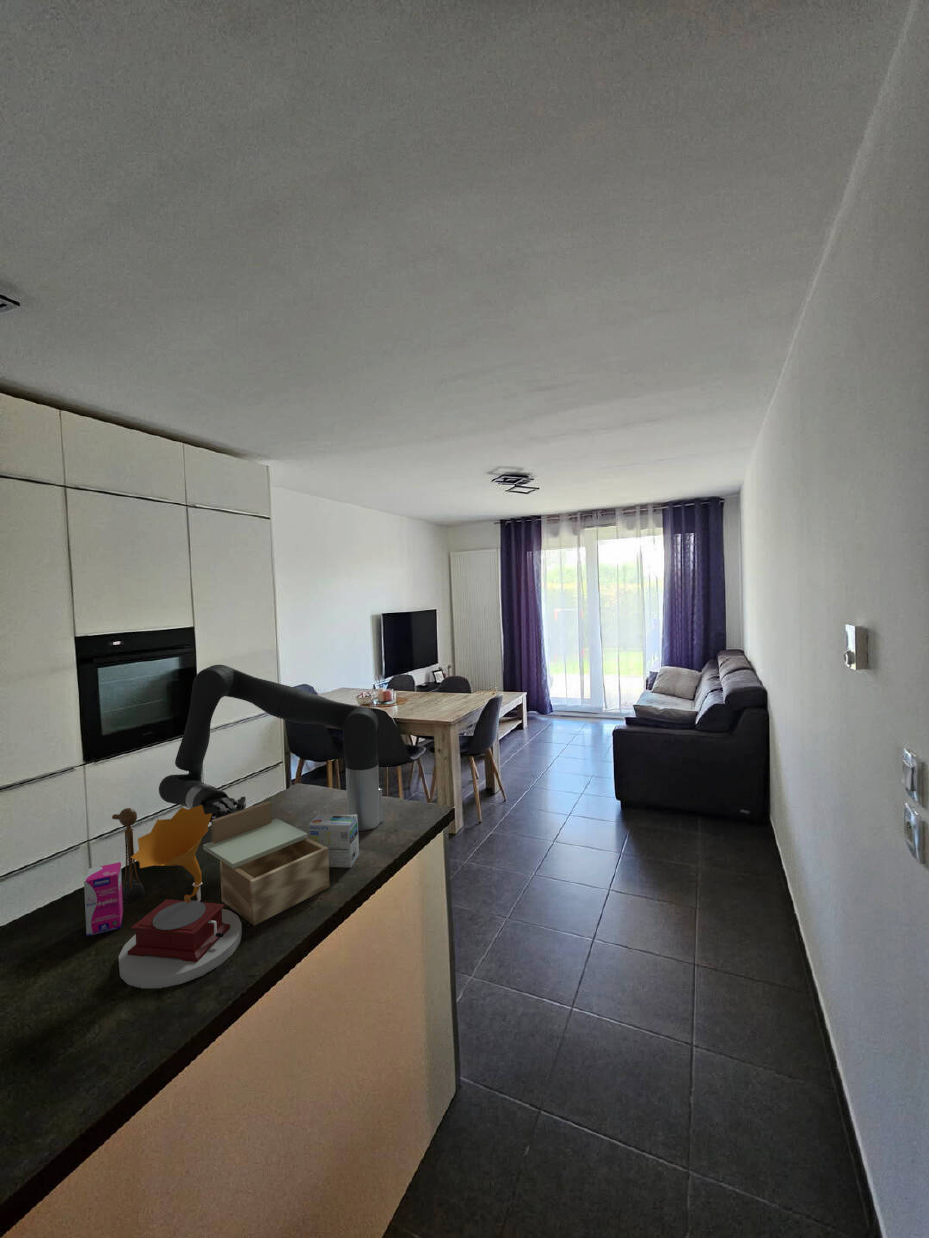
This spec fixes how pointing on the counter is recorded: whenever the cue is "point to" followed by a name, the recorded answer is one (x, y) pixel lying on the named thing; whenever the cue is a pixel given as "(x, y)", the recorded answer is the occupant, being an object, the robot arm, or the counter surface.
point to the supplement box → (103, 898)
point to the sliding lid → (250, 835)
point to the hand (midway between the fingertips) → (238, 817)
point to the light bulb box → (337, 837)
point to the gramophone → (178, 913)
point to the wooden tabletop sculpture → (133, 887)
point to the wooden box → (275, 880)
